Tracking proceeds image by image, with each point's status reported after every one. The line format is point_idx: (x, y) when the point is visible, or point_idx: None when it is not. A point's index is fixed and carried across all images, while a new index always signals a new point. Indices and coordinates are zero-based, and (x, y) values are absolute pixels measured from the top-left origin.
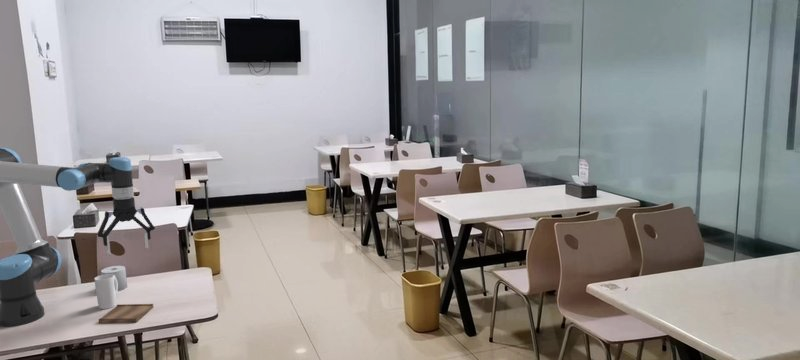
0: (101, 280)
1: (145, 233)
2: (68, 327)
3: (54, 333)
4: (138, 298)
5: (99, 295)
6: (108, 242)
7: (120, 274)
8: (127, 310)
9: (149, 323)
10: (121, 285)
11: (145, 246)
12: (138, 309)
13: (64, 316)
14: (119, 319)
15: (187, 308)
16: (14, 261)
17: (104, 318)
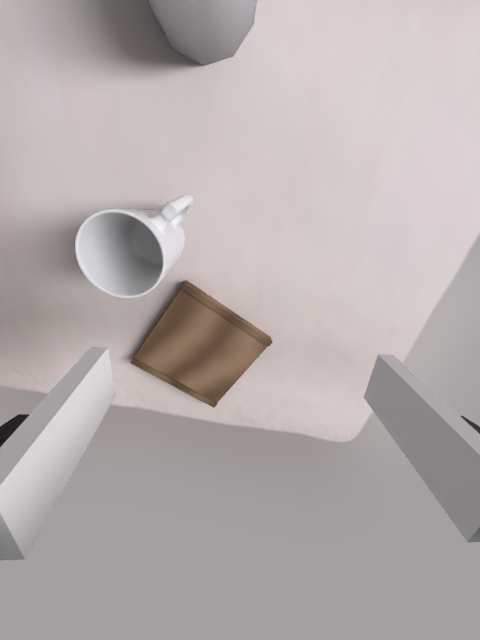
0: (111, 293)
1: (462, 532)
2: (60, 339)
3: (31, 356)
4: (256, 229)
5: (121, 264)
6: (52, 489)
7: (226, 7)
8: (204, 341)
9: (236, 419)
10: (225, 47)
11: (379, 365)
12: (231, 352)
13: (30, 243)
14: (179, 388)
15: (331, 390)
16: None
17: (144, 366)
